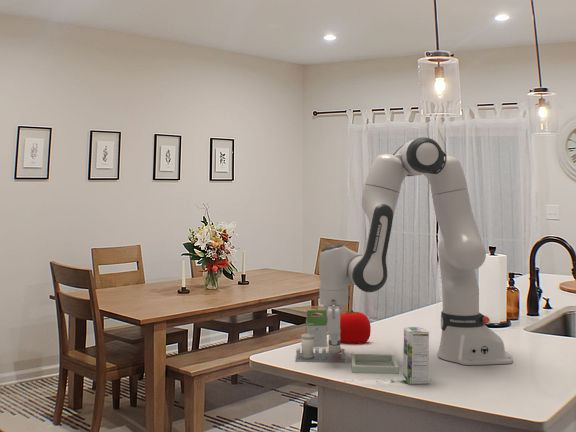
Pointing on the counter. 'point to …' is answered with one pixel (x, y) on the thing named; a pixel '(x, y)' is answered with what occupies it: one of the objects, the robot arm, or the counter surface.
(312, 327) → the ink box
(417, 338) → the syrup box
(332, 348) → the fuse
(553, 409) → the counter surface
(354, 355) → the tray
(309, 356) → the holder
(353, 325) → the tomato
